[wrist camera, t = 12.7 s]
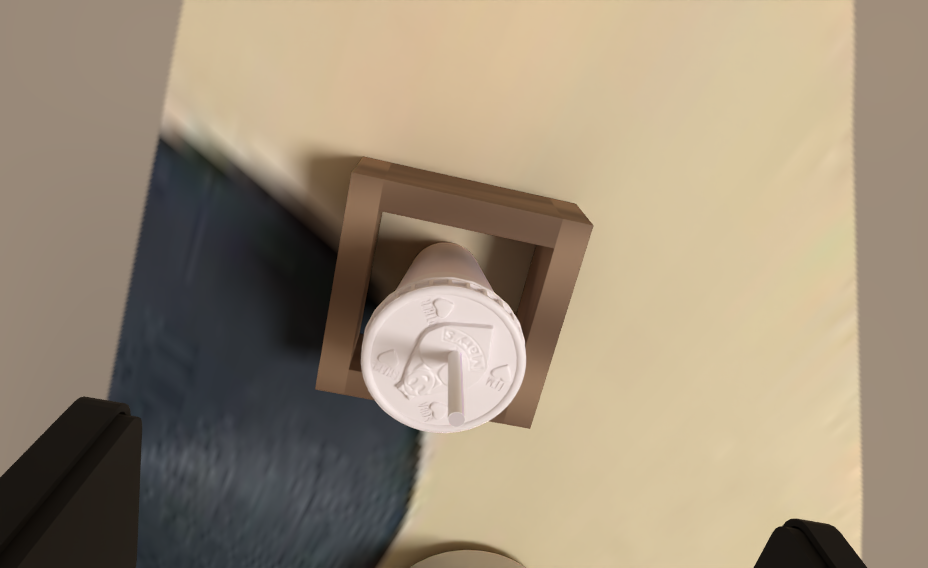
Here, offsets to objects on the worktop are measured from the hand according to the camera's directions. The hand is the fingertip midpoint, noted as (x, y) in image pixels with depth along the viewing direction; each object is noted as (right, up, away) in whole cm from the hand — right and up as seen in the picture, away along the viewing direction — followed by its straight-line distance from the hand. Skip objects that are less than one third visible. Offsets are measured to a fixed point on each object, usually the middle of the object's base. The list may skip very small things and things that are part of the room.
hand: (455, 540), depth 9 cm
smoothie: (-1, +4, +24) cm, 24 cm away
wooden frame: (-1, +4, +24) cm, 24 cm away
